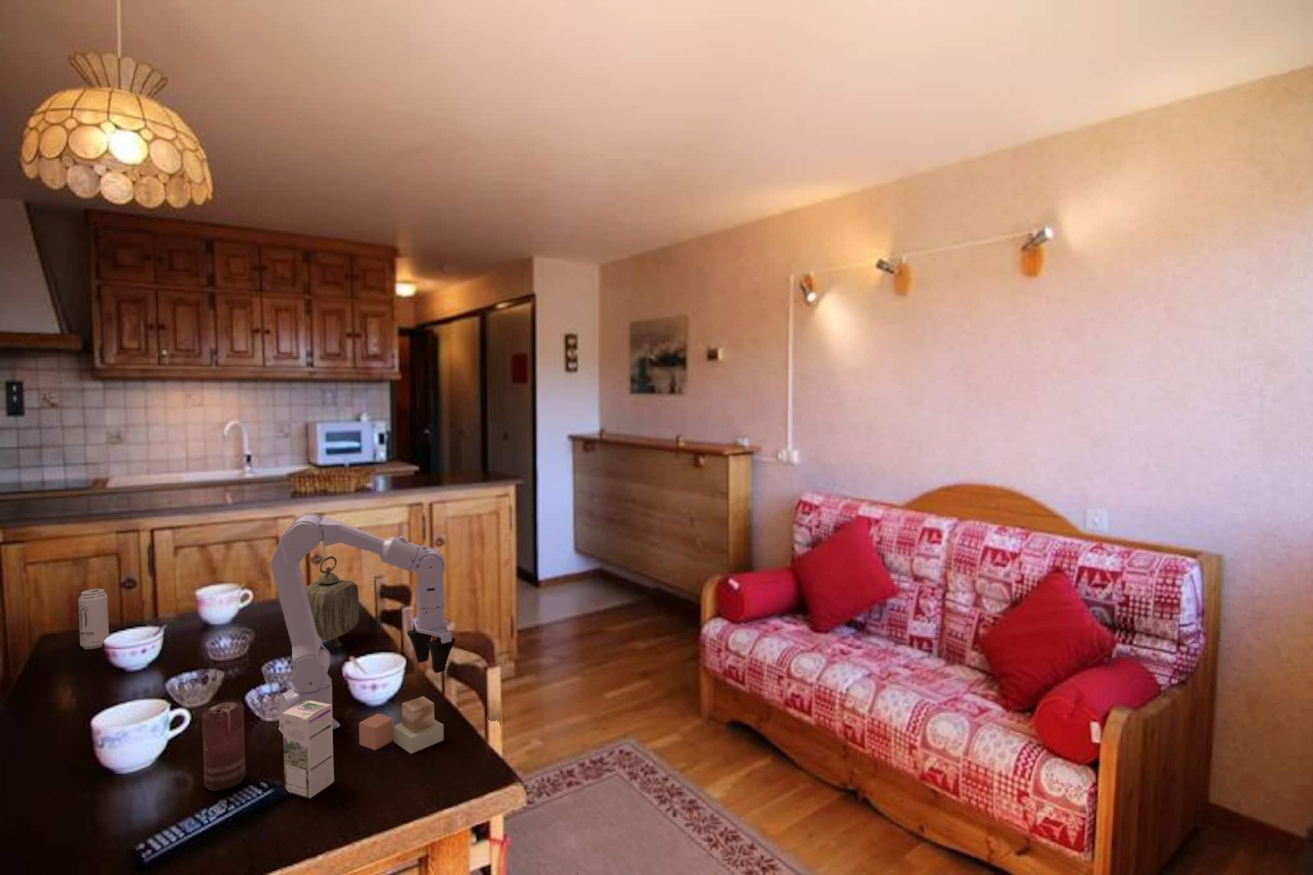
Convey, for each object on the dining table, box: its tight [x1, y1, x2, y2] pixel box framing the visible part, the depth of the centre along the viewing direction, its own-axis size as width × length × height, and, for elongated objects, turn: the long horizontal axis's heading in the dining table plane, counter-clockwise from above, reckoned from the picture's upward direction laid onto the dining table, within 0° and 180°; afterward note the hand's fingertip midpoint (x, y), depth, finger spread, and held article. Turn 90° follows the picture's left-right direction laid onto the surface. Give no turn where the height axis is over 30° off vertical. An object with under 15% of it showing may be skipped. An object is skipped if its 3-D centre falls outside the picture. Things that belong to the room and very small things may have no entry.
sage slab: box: [392, 718, 445, 755], centre depth 134 cm, size 7×7×4 cm
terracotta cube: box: [358, 713, 395, 751], centre depth 133 cm, size 4×4×4 cm
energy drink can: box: [77, 588, 110, 650], centre depth 181 cm, size 6×6×15 cm
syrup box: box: [282, 700, 335, 799], centre depth 117 cm, size 6×6×14 cm
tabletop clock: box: [305, 555, 360, 649], centre depth 181 cm, size 14×9×25 cm, turn 172°
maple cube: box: [401, 696, 435, 733], centre depth 134 cm, size 4×4×4 cm
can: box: [201, 698, 246, 792], centre depth 118 cm, size 6×6×14 cm
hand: (431, 666), depth 146 cm, fingers open, 7 cm apart
